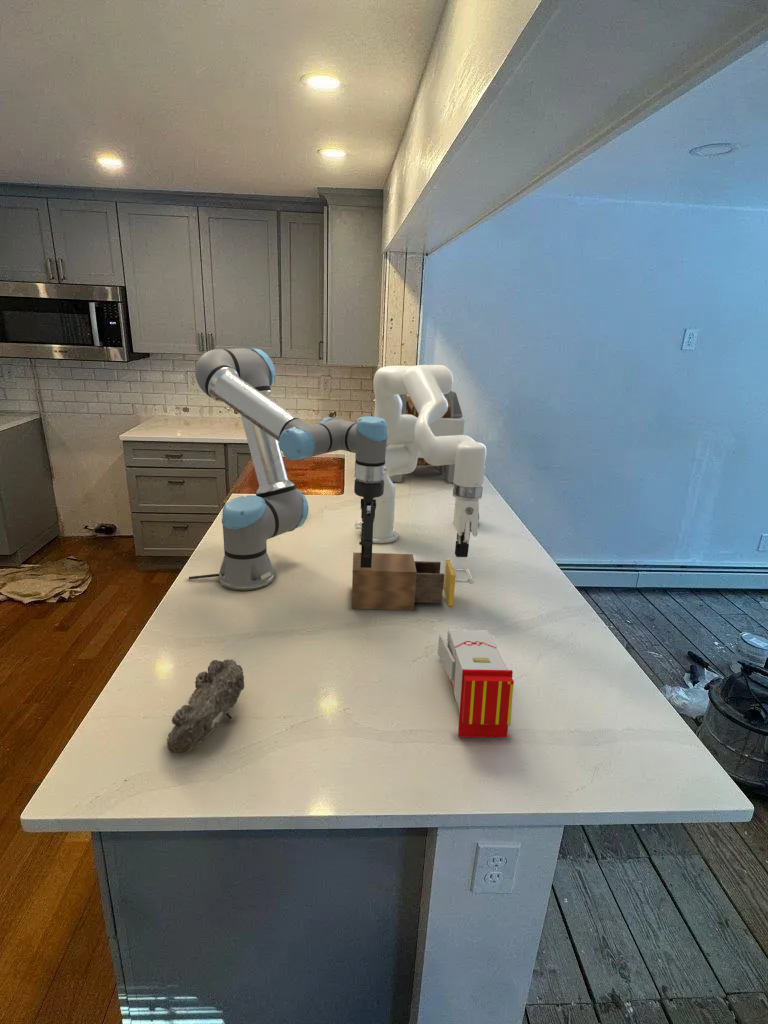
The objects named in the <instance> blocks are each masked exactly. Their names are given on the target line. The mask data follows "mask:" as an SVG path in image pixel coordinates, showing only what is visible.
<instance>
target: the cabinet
mask: <svg viewBox="0 0 768 1024" xmlns="http://www.w3.org/2000/svg"><path fill="white" fill-rule="evenodd" d="M352 554H353V555H352V579H351V582H352V583H351V610H389V611H392V610H395V611H396V610H397V611H415V603H416V602H415V588H416V574H417V571H416V566H415V562H414V561H415V557H414V554H413V553H392V552H391V553H390V552H389V553H387V552H372V563H371V568H362V567H361V552H352Z"/></svg>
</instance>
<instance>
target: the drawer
mask: <svg viewBox="0 0 768 1024" xmlns="http://www.w3.org/2000/svg"><path fill="white" fill-rule="evenodd" d="M414 562H415V566H416V571H417V574H416V588H415V602H414V603H433V604H434V603H436V604H437V603H439V604H442V603H443V595H445V599H446V604H447V606H448V607H453V606H454V596H455V587H456V584H457V583H461V584H469V585H473V584H474V583H475V581H474V578H473V576H472V573H471V572H470V569H469V567H466V568H464V569H461V568H459V569H458V568H454V567H453V564H452V561H451V559H450V558H449V559H448V558H445V565H444V573H441V565H442V563H441V561H430V560H429V561H428V560H426V561H425V560H418V561H417V560H414ZM456 573H465V576H466V579H456Z"/></svg>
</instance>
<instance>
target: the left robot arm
mask: <svg viewBox="0 0 768 1024" xmlns="http://www.w3.org/2000/svg"><path fill="white" fill-rule="evenodd" d="M194 370H195V371H194V376H195V380H196V383H197V385H198V387H199V388H200V390H202V392H203V393H204V394H205V395H207V397H209V398H211V399H212V400H214V401H215V402H218V403H221V402H223V403H224V404H225V405H227V406H229V408H231V409H233V410H234V411H236V412H237V414H239V415H240V418H241V421H242V425H243V429H244V433H245V437H246V441H247V445H248V449H249V453H250V456H251V460H252V464H253V468H254V471H255V476H256V479H257V484H258V487H257V490H256V491H255V495H246V496H244V495H242V496H238V497H234V498H232V499H230V500H229V501H227V502H226V503H225V504H224V505H223V507H222V512H221V513H222V514H221V516H222V517H221V524H222V537H223V553H224V555H223V559H222V562H221V565H220V569H219V572H218V573H210V574H202V575H201V574H200V575H193V576H188V580H198V579H206V578H215V577H216V578H217V577H218V581H219V584H220V585H221V586H222V587H224V588H226V589H229V590H233V591H239V592H240V591H243V592H244V591H254V590H258V589H259V590H260V589H263V588H264V587H267V586H268V585H270V584H271V583H272V582H273V581H274V579H275V570H274V568H273V565H272V563H271V560H270V556H269V554H268V551H267V540H269V539H272V538H275V537H278V536H280V535H282V534H285V533H288V532H294V531H295V530H296V529H298V528H300V527H302V526H303V525H304V524H305V523H306V520H307V519H308V517H309V503H308V499H307V497H306V495H304V494H303V492H302V491H301V490H299V489H297V487H296V485H295V483H294V482H292V481H291V480H289V478H288V475H287V470H286V466H285V462H284V458H283V456H284V457H285V458H286V459H288V460H290V461H298V460H306V459H309V458H313V457H316V456H320V455H325V454H329V453H333V452H337V451H345V452H349V453H352V454H355V456H354V457H355V458H354V459H355V462H354V478H355V479H354V486H353V487H354V488H353V493H354V494H355V495H356V496H357V497H361V498H360V511H361V512H360V513H361V515H360V519H361V522H362V528H361V529H360V530H361V533H360V541H358V545H359V546H360V547H361V548H360V549H361V551H360V553H361V567H362V568H371V563H372V553H373V545H374V543H373V522H374V519H375V510H376V499H373V498H375V497H380V496H382V495H383V493H384V481H383V479H384V474H385V472H384V471H387V467H385V455H386V444H387V438H388V436H387V422H386V421H385V420H384V419H383V418H380V417H374V416H370V415H367V416H360V417H358V419H357V420H356V422H355V421H351V420H346V419H341V418H339V417H331V416H329V417H326V416H325V417H324V418H322V420H321V421H319V422H318V423H313V424H309V423H306V421H304V420H302V419H300V418H299V417H297V416H296V415H295V414H293V413H291V411H289V410H287V409H285V408H284V407H283V406H281V405H280V404H278V403H277V402H276V401H274V400H272V399H271V398H270V395H271V394H272V388H271V387H272V386H273V384H274V383H275V377H276V369H275V365H274V363H273V361H272V359H271V357H270V356H269V355H268V354H267V353H266V352H264V351H263V350H262V349H260V348H252V347H236V348H215V349H210V350H208V351H206V352H204V353H203V354H202V355H201V356H200V357H199V358H198V359H197V362H196V365H195V369H194Z"/></svg>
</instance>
